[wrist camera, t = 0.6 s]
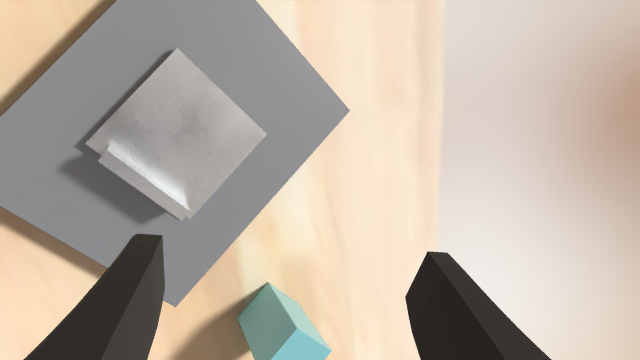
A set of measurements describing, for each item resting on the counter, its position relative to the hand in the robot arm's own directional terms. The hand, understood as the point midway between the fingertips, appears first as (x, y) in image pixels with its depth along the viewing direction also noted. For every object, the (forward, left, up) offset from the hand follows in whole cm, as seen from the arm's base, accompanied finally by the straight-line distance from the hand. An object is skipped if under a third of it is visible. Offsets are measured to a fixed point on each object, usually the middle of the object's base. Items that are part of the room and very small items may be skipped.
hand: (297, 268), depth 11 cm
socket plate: (0, +1, -21) cm, 21 cm away
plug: (-7, -15, -21) cm, 27 cm away
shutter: (0, +1, -18) cm, 19 cm away
